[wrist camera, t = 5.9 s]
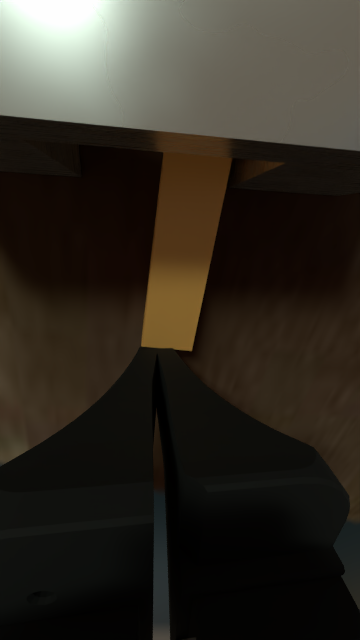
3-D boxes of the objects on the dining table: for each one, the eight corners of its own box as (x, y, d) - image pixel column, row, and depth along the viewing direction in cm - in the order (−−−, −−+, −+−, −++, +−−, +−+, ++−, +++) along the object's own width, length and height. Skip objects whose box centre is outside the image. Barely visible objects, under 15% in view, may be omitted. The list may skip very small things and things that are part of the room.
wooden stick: (197, 330, 11) (212, 366, 9) (129, 323, 11) (122, 359, 8) (347, -376, 5) (579, -1080, 2) (205, -475, 5) (288, -1549, 2)
